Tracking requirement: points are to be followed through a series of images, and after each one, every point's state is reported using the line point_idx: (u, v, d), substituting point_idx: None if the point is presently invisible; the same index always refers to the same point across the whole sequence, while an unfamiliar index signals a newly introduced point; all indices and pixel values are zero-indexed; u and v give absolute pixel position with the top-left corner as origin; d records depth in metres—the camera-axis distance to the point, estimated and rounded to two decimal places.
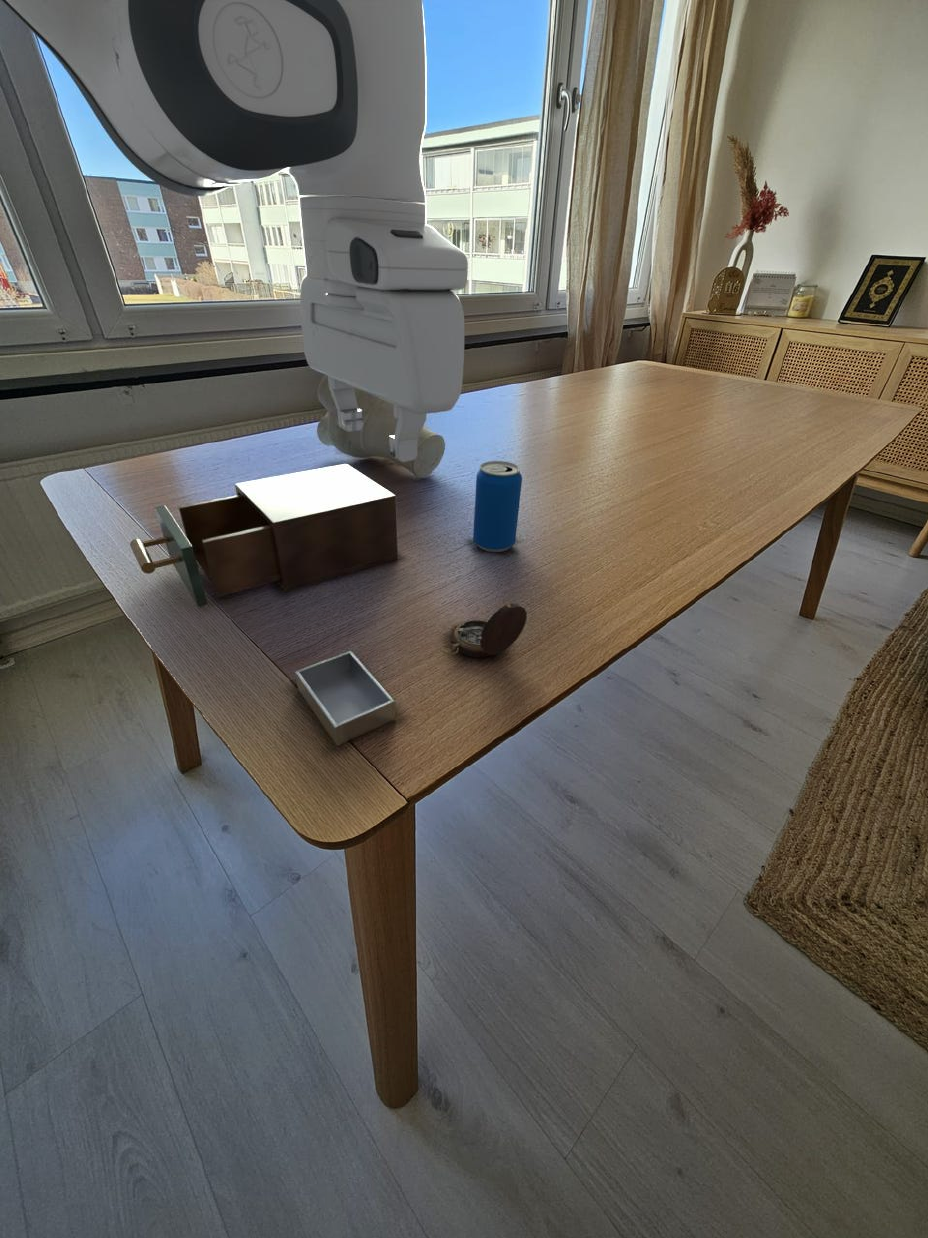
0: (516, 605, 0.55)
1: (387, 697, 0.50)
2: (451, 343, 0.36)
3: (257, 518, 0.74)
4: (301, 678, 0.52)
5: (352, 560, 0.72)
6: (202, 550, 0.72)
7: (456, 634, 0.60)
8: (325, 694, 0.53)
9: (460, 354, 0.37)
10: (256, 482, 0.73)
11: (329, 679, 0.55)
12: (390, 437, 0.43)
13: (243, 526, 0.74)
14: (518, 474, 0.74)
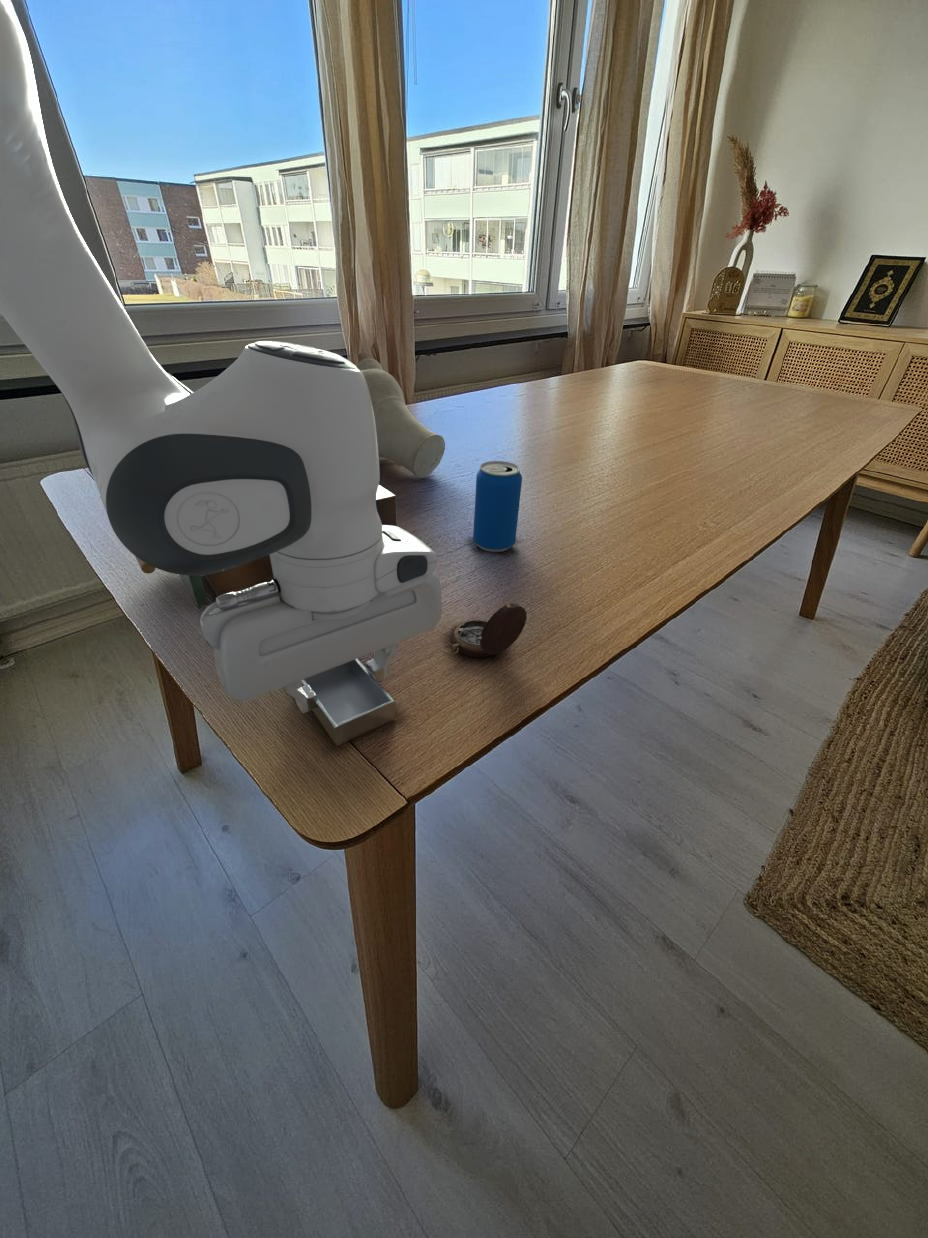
0: (516, 605, 0.55)
1: (387, 697, 0.50)
2: None
3: None
4: None
5: None
6: None
7: (456, 634, 0.60)
8: (325, 694, 0.53)
9: None
10: None
11: (329, 679, 0.55)
12: (376, 671, 0.51)
13: None
14: (518, 474, 0.74)
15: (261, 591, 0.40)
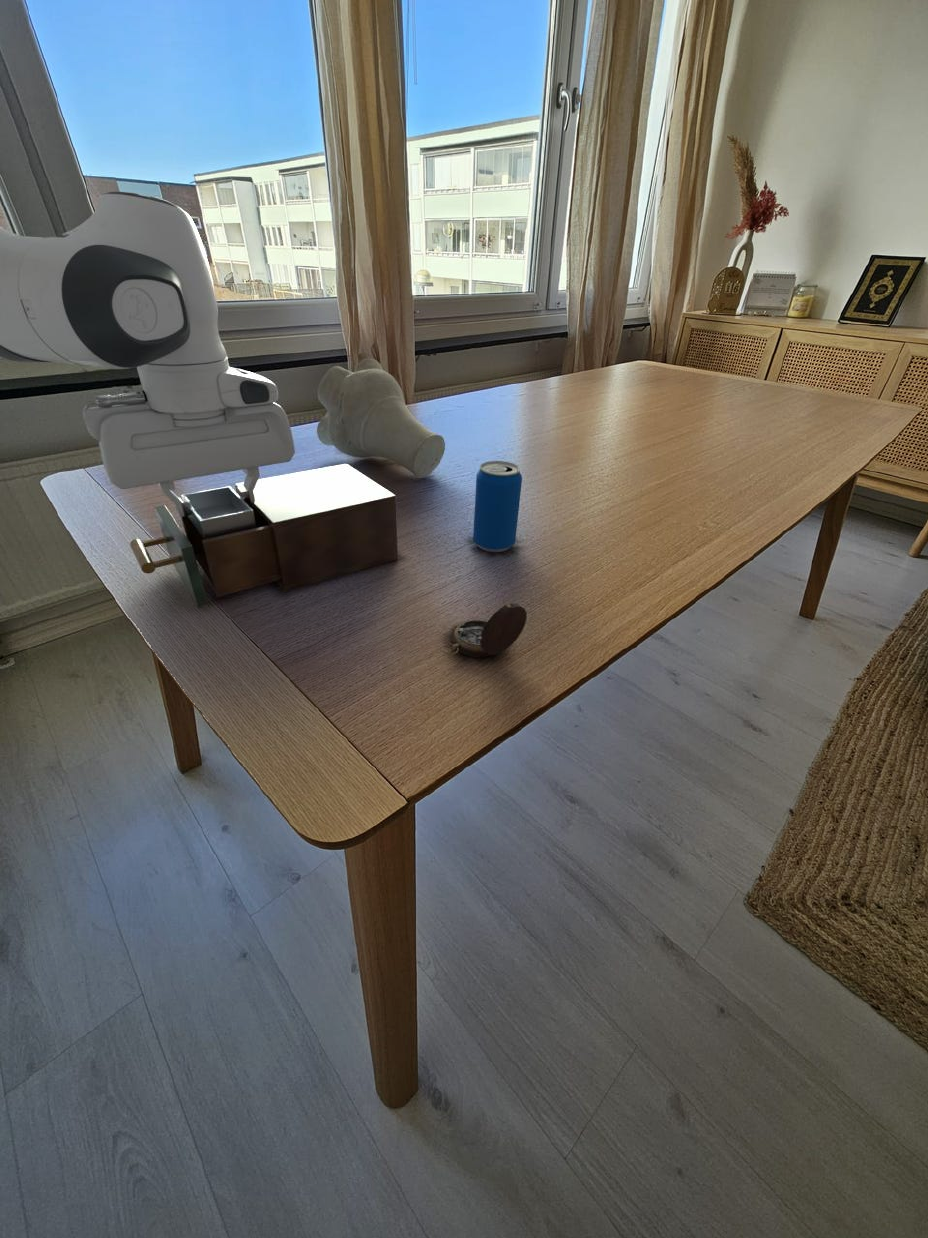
0: (516, 605, 0.55)
1: (248, 508, 0.64)
2: None
3: (257, 518, 0.74)
4: None
5: (352, 560, 0.72)
6: (202, 550, 0.72)
7: (456, 634, 0.60)
8: (205, 514, 0.67)
9: None
10: None
11: (211, 507, 0.69)
12: (242, 492, 0.65)
13: None
14: (518, 474, 0.74)
15: (130, 396, 0.54)
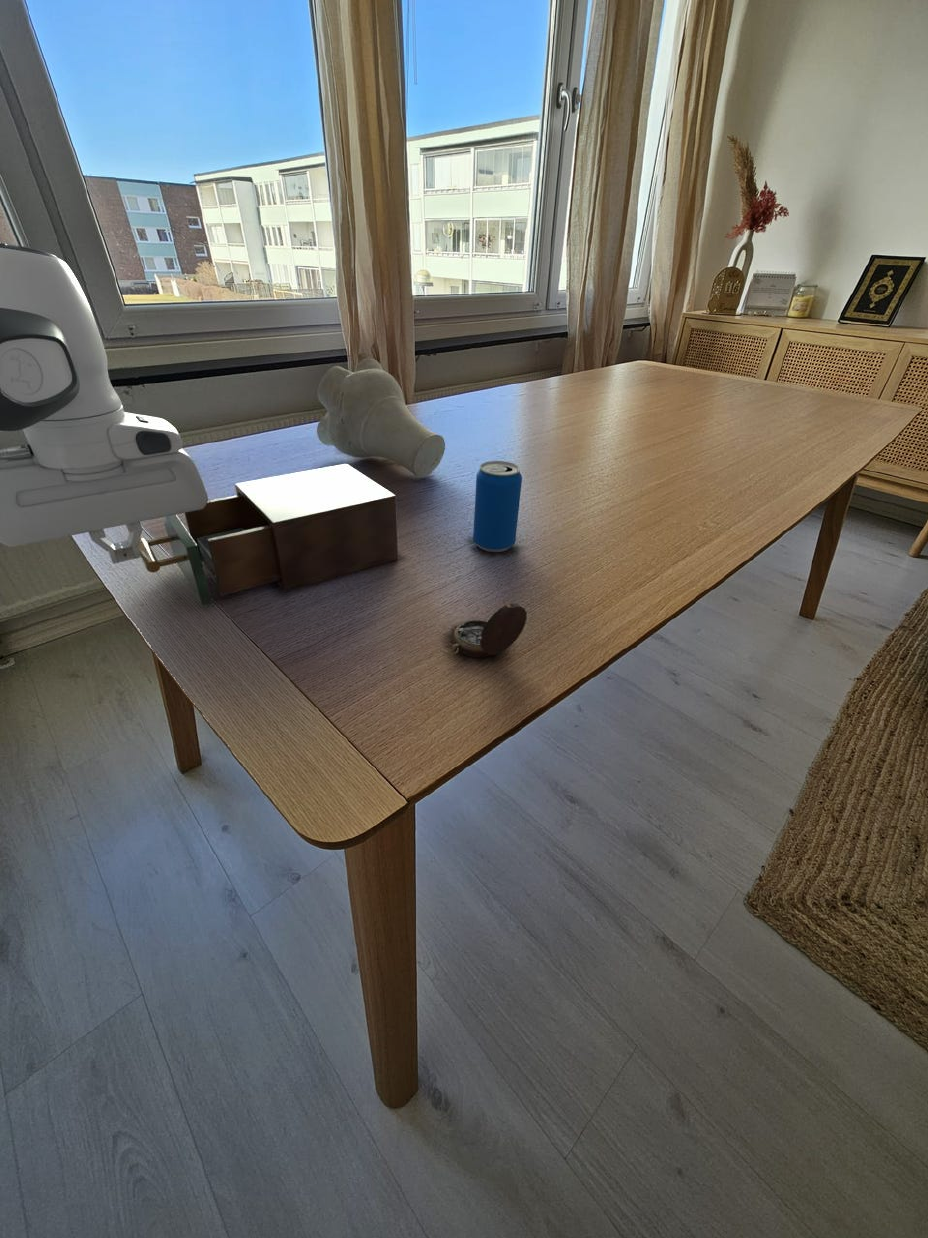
0: (516, 605, 0.55)
1: None
2: None
3: (261, 517, 0.75)
4: (200, 541, 0.69)
5: (352, 560, 0.72)
6: None
7: (456, 634, 0.60)
8: None
9: None
10: (256, 482, 0.73)
11: None
12: (124, 548, 0.61)
13: (247, 525, 0.74)
14: (518, 474, 0.74)
15: (13, 451, 0.51)
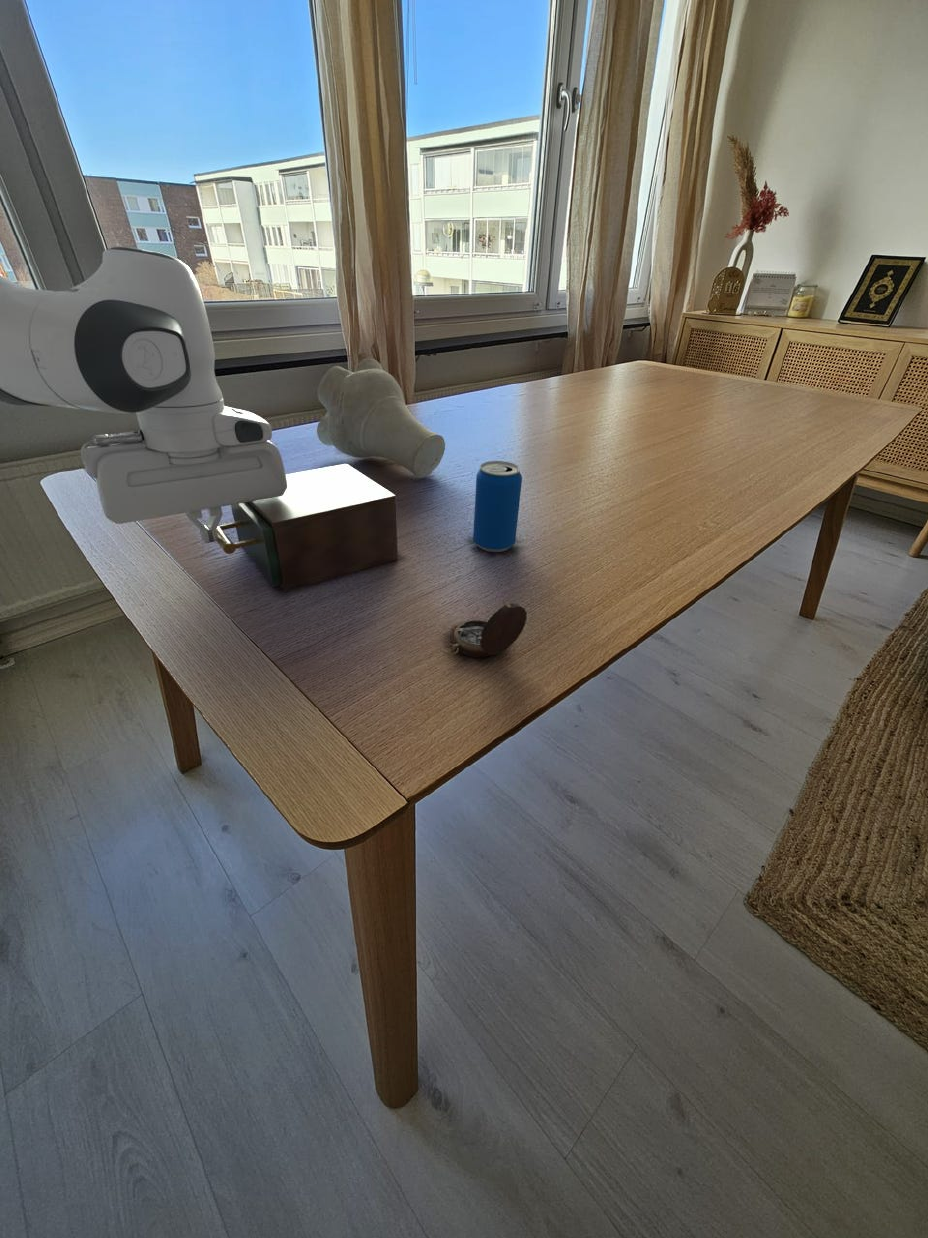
0: (516, 605, 0.55)
1: None
2: None
3: None
4: None
5: (352, 560, 0.72)
6: None
7: (456, 634, 0.60)
8: None
9: None
10: None
11: None
12: (205, 531, 0.65)
13: None
14: (518, 474, 0.74)
15: (128, 436, 0.56)
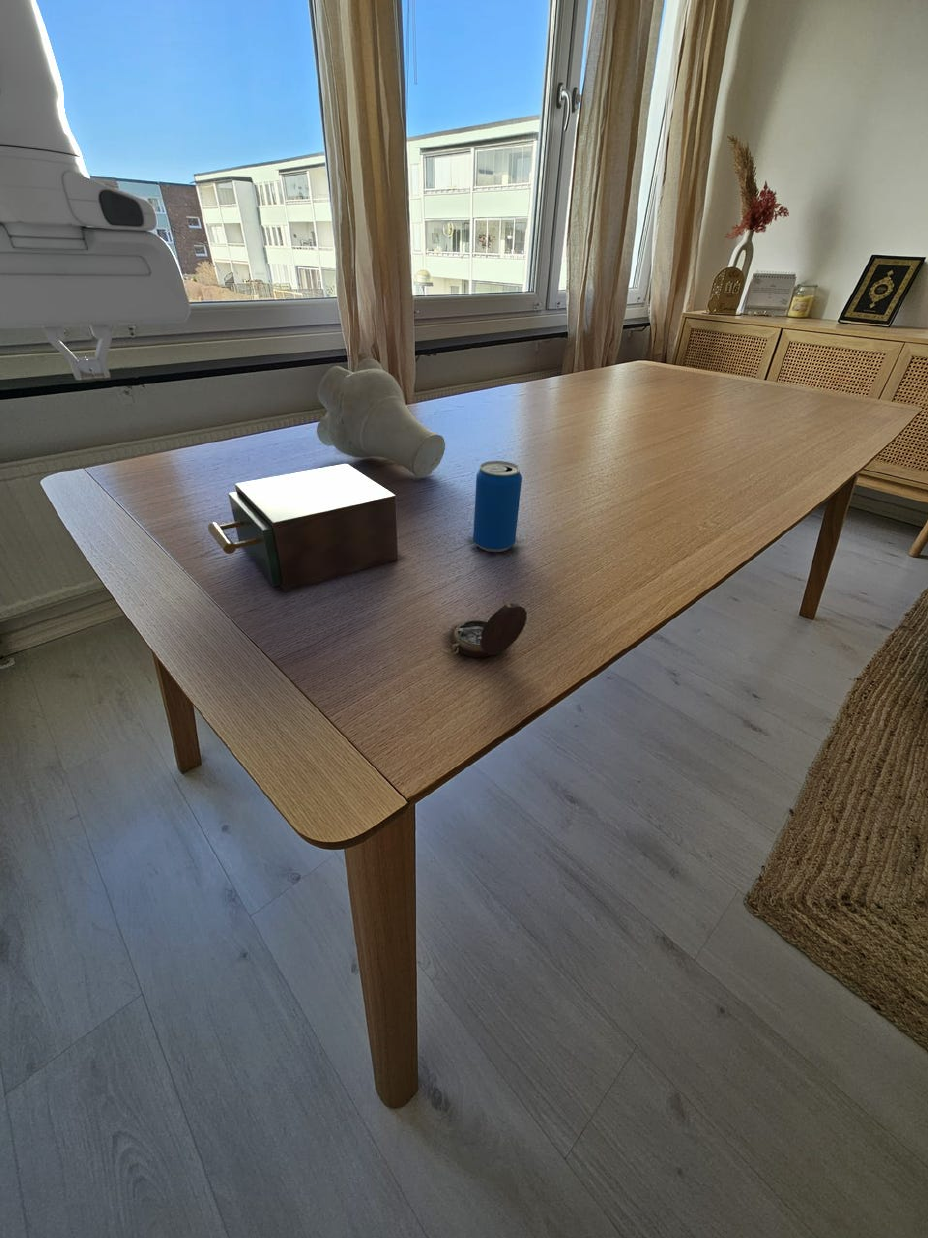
0: (516, 605, 0.55)
1: None
2: None
3: None
4: None
5: (352, 560, 0.72)
6: None
7: (456, 634, 0.60)
8: None
9: None
10: (256, 482, 0.73)
11: None
12: (90, 360, 0.51)
13: None
14: (518, 474, 0.74)
15: None
